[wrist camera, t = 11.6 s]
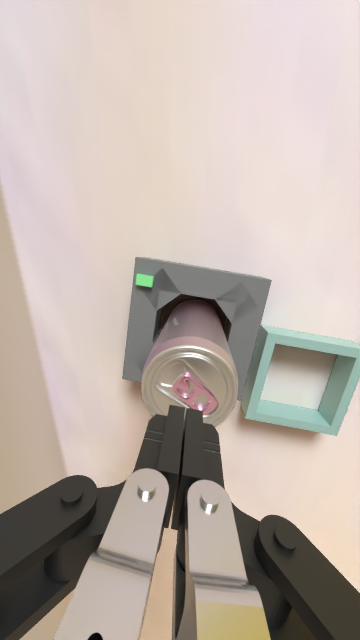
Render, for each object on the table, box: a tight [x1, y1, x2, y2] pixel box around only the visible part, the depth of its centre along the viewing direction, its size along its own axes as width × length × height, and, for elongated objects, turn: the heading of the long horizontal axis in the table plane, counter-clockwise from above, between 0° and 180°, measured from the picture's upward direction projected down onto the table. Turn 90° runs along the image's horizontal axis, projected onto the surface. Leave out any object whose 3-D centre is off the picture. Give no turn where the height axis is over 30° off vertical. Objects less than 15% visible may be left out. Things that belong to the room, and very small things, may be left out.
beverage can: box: [141, 300, 238, 427], centre depth 21 cm, size 6×6×15 cm
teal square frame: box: [241, 325, 360, 436], centre depth 27 cm, size 10×10×3 cm
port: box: [122, 257, 272, 401], centre depth 26 cm, size 13×13×4 cm
